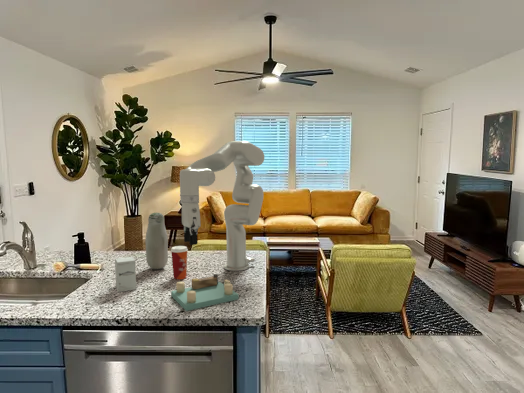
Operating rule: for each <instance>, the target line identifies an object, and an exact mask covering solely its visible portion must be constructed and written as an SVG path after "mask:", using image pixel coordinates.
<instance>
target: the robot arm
mask: <svg viewBox="0 0 524 393" xmlns="http://www.w3.org/2000/svg"><path fill="white" fill-rule="evenodd" d="M264 161H265V153H264V151H263V149H261V148H260V147H258V146H256V144H253V143H252V142H250V141H247V140H237V141H234V140H233V141H231V140H230V141H228V142H226V143H225V144H224V145H222V146H221V147H219V148H218V150H216V151H215V152H214V153H212V154H210V155H207V156H205V157H202V158H199V159H198V160H196V161H194V162H192V163H191V164H190V165H188V167H186V168H184V169H181V170H180V171H179V192H180V193H179V197H180V198H179V201H180V202H179V203H180V204H181V225H183V241H184V242H185V243H188V242H189V245H190V246H194V245H195V246H196V245H198V231H199V228H201V212H200V210H201V209H200V205H199V203H200V193H199V192H200V187H210V186H211V185H213V184H214V182H215V181H216V174H215V173H217V172H221V171H223V170H225V169H227V168H228V167H229V166H230V165H231V164H232V163H233V165H234V167H235V170H236V178H235V182H234V186H233V190H232V194H231V197H232V200H233V202H235V203H237V204H234V203H233V204H229V205H227V206H226V207H225V209H224V210H223V211H224V212H223V218H224V222H225V227H226V234H225V235H226V263H225V264H223V269H224V270H227V271H232V272H241V271H245V270H248V269H249V268H250V263H254V262H255V260H256V259H255V257H247V242H246V241H247V238H246V236H247V232H246V228H245V227H244V226H254V225H257V223H258V221H259V217H260V214H261V211H262V207H263V206H262V205H263V201H264V190H263V188H262V187H261V185H258V184H253V182H254V174H253V172H252V170H251V168H250V167H251V166H254V167H255V166H256V167H257V166H261V165H262V164H263V163H264ZM249 166H250V167H249ZM245 204H248V205H245Z"/></svg>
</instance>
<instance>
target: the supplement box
mask: <svg viewBox="0 0 524 393" xmlns="http://www.w3.org/2000/svg"><path fill="white" fill-rule="evenodd" d="M114 268H115V272H114V274H115V288H116V290H117V293H121V292H127V291H133V290H134V291H136V290H137V273H136V271H137V270H136V269H137V268H136V259H135V258H134V256H126V257H117V258H116V257H115V258H114Z"/></svg>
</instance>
